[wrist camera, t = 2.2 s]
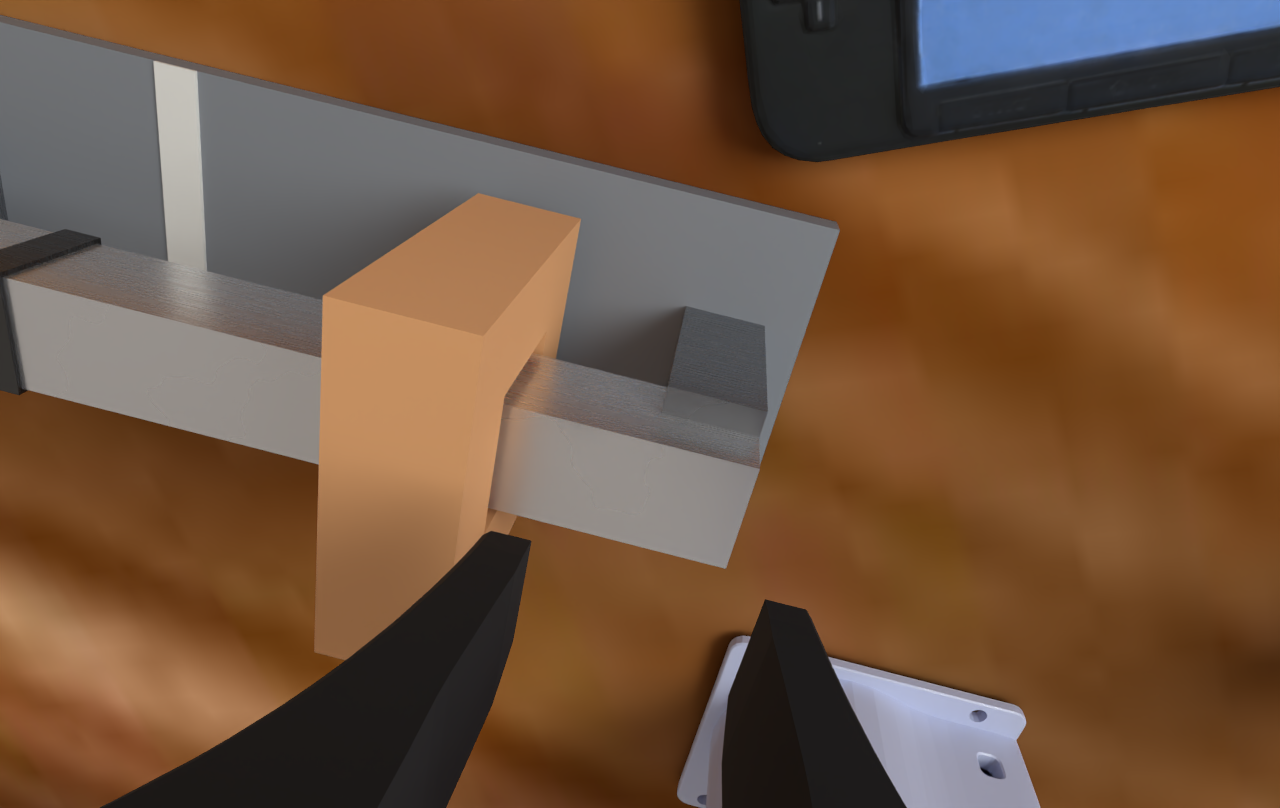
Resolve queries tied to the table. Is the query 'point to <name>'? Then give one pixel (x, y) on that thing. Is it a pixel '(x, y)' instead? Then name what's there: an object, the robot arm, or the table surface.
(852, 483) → the table surface
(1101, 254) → the table surface
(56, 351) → the grey rail plate
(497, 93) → the table surface
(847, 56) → the handheld game console
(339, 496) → the collar
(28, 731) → the table surface
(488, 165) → the board
